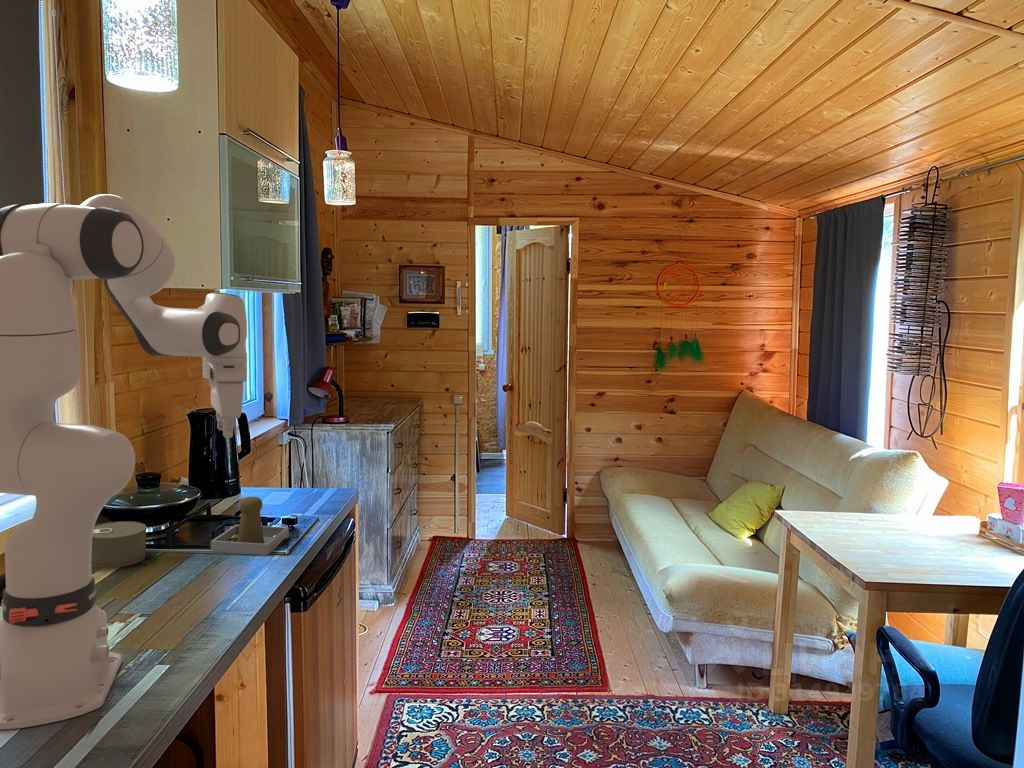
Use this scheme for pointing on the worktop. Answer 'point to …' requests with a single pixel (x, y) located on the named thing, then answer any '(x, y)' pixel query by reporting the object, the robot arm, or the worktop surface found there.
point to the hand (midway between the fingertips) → (224, 433)
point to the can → (118, 544)
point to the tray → (250, 548)
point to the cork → (250, 521)
